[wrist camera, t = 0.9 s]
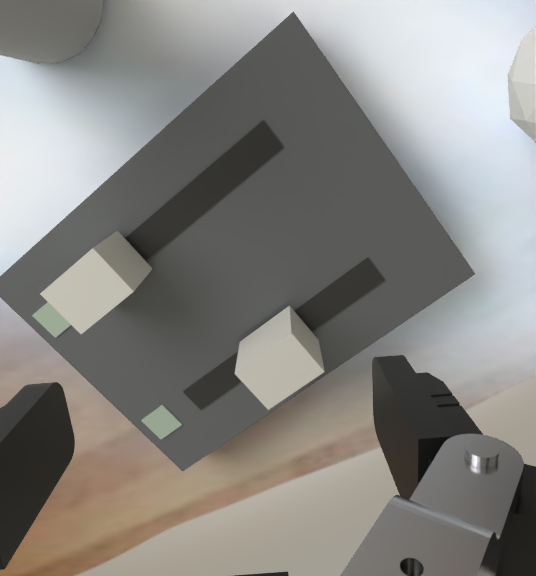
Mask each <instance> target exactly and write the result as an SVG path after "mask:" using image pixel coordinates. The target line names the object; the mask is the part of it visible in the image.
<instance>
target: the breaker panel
mask: <svg viewBox="0 0 536 576" xmlns="http://www.w3.org/2000/svg"><path fill="white" fill-rule="evenodd" d="M116 231H118V232H119V233H120V234H121V235H122V236H123V237H124V238H125V239H126V240H127V241H128V242H129V243H130V245H131V246H132V247H133V248H134V249H135V250H136V251H137V252H138V253H139V254H140V255H141V257H142V258H143V259H144V260H145V261H146V262H147V263H148V264H149V265H150V266H151V267H152V270H151V271H150V273H149V274H148V275H147V276H146V277H145V279H144V280H143V281H142V282H141V284H140V285H139V286H138V287H137V288H136V290H135V291H134V292H133V293H131V294H130V295H129V296H128V297H127V298H125V299H124V300H123V301H122V302H120V303H119V304H118V305H117V306H116V307H114V308H113V309H112V310H111V311H109V312H108V313H107V314H106V315H104V316H103V317H102V318H101V319H100V320H98V321H97V322H96V323H95V324H93V325H92V326H91V327H90V328H88V329H87V330H86V331H85V332H84V333H82V334H80V333H79V332H78V331H77V330H76V329H75V328H74V327H73V326H72V325H71V324H70V323H69V322H68V321H67V320H66V319H65V318H64V317H63V316H62V315H61V314H60V313H59V312H58V311H57V310H56V309H55V308H54V307H53V306H52V305H51V304H50V303H49V302H47V301H46V300H45V299H44V298H43V297H42V296H41V295H40V293H41V292H43V291H44V290H45V289H46V288H47V287H48V286H49V285H51V284H52V283H53V282H54V281H55V280H56V279H58V278H59V277H60V276H61V275H62V274H63V273H64V272H66V271H67V270H68V269H69V268H70V267H71V266H73V265H74V264H75V263H76V262H77V261H78V260H80V259H81V258H82V257H83V256H84V255H85V254H86V253H88V252H89V251H90V250H91V249H92V248H94V247H95V246H96V245H98V244H99V243H101V242H102V241H103V240H105V239H106V238H108V237H109V236H110V235H112V234H113V233H115V232H116ZM473 275H475V273H474V272H473V270H472V269H471V267H470V266H469V264H468V263H467V261H466V260H465V259H464V257H463V256H462V254H461V253H460V251H459V250H458V248H457V247H456V246H455V244H454V243H453V241H452V240H451V238H450V237H449V235H448V234H447V233H446V231H445V230H444V228H443V227H442V225H441V224H440V222H439V221H438V220H437V218H436V217H435V215H434V214H433V212H432V211H431V209H430V208H429V207H428V205H427V204H426V202H425V201H424V199H423V198H422V196H421V195H420V194H419V192H418V191H417V189H416V188H415V186H414V185H413V183H412V182H411V181H410V179H409V178H408V176H407V175H406V173H405V172H404V170H403V169H402V168H401V166H400V165H399V163H398V162H397V160H396V159H395V157H394V156H393V155H392V153H391V152H390V150H389V149H388V147H387V146H386V144H385V143H384V142H383V140H382V139H381V137H380V136H379V134H378V133H377V131H376V130H375V129H374V127H373V126H372V124H371V123H370V121H369V120H368V118H367V117H366V116H365V114H364V113H363V111H362V110H361V108H360V107H359V105H358V104H357V103H356V101H355V100H354V98H353V97H352V95H351V94H350V92H349V91H348V90H347V88H346V87H345V85H344V84H343V82H342V81H341V79H340V78H339V77H338V75H337V74H336V72H335V71H334V69H333V68H332V66H331V65H330V64H329V62H328V61H327V59H326V58H325V56H324V55H323V53H322V52H321V51H320V49H319V48H318V46H317V45H316V43H315V42H314V40H313V39H312V38H311V36H310V35H309V33H308V32H307V30H306V29H305V27H304V26H303V25H302V23H301V22H300V20H299V19H298V17H297V16H296V14H295V13H294V12H293V13H291V14H290V15H289V16H288V17H287V18H286V19H285V20H284V21H283V22H281V23H280V24H279V25H278V26H277V27H276V28H275V29H274V30H273V31H271V32H270V33H269V34H268V35H267V36H266V37H265V38H264V39H263V40H262V41H260V42H259V43H258V44H257V45H256V46H255V47H254V48H253V49H252V50H250V51H249V52H248V53H247V54H246V55H245V56H244V57H243V58H242V59H240V60H239V61H238V62H237V63H236V64H235V65H234V66H233V67H232V68H231V69H229V70H228V71H227V72H226V73H225V74H224V75H223V76H222V77H221V78H219V79H218V80H217V81H216V82H215V83H214V84H213V85H212V86H211V87H209V88H208V89H207V90H206V91H205V92H204V93H203V94H202V95H201V96H200V97H198V98H197V99H196V100H195V101H194V102H193V103H192V104H191V105H190V106H188V107H187V108H186V109H185V110H184V111H183V112H182V113H181V114H180V115H178V116H177V117H176V118H175V119H174V120H173V121H172V122H171V123H170V124H169V125H167V126H166V127H165V128H164V129H163V130H162V131H161V132H160V133H159V134H157V135H156V136H155V137H154V138H153V139H152V140H151V141H150V142H149V143H147V144H146V145H145V146H144V147H143V148H142V149H141V150H140V151H139V152H138V153H136V154H135V155H134V156H133V157H132V158H131V159H130V160H129V161H128V162H126V163H125V164H124V165H123V166H122V167H121V168H120V169H119V170H118V171H116V172H115V173H114V174H113V175H112V176H111V177H110V178H109V179H108V180H107V181H105V182H104V183H103V184H102V185H101V186H100V187H99V188H98V189H97V190H95V191H94V192H93V193H92V194H91V195H90V196H89V197H88V198H87V199H85V200H84V201H83V202H82V203H81V204H80V205H79V206H78V207H77V208H76V209H74V210H73V211H72V212H71V213H70V214H69V215H68V216H67V217H66V218H64V219H63V220H62V221H61V222H60V223H59V224H58V225H57V226H56V227H54V228H53V229H52V230H51V231H50V232H49V233H48V234H47V235H46V236H44V237H43V238H42V239H41V240H40V241H39V242H38V243H37V244H36V245H35V246H33V247H32V248H31V249H30V250H29V251H28V252H27V253H26V254H25V255H23V256H22V257H21V258H20V259H19V260H18V261H17V262H16V263H15V264H13V265H12V266H11V267H10V268H9V269H8V270H7V271H6V272H5V273H4V274H2V275H1V276H0V297H1V298H2V299H3V300H4V301H5V302H6V303H7V304H8V305H9V306H10V307H11V308H12V309H13V310H14V311H15V312H16V313H17V314H18V315H19V316H20V317H22V318H23V319H24V320H25V321H26V322H27V323H28V324H29V325H30V326H31V327H32V328H33V329H34V330H35V331H36V332H37V333H38V334H39V335H40V336H41V337H42V338H44V339H45V340H46V341H47V342H48V343H49V344H50V345H51V346H52V347H53V348H54V349H55V350H56V351H57V352H58V353H59V354H60V355H61V356H62V357H63V358H64V359H66V360H67V361H68V362H69V363H70V364H71V365H72V366H73V367H74V368H75V369H76V370H77V371H78V372H79V373H80V374H81V375H82V376H83V377H84V378H85V379H86V380H88V381H89V382H90V383H91V384H92V385H93V386H94V387H95V388H96V389H97V390H98V391H99V392H100V393H101V394H102V395H103V396H104V397H105V398H106V399H107V400H109V401H110V402H111V403H112V404H113V405H114V406H115V407H116V408H117V409H118V410H119V411H120V412H121V413H122V414H123V415H124V416H125V417H126V418H127V419H128V420H129V421H131V422H132V423H133V424H134V425H135V426H136V427H137V428H138V429H139V430H140V431H141V432H142V433H143V434H144V435H145V436H146V437H147V438H148V439H149V440H150V441H151V442H153V443H154V444H155V445H156V446H157V447H158V448H159V449H160V450H161V451H162V452H163V453H164V454H165V455H166V456H167V457H168V458H169V459H170V460H171V461H172V462H173V463H175V464H176V465H177V466H178V467H179V468H180V469H181V470H182V471H184V470H185V469H187V468H188V467H190V466H191V465H193V464H194V463H196V462H197V461H199V460H200V459H202V458H203V457H205V456H206V455H208V454H209V453H211V452H212V451H214V450H215V449H217V448H218V447H219V446H221V445H222V444H224V443H225V442H227V441H228V440H230V439H231V438H233V437H234V436H236V435H237V434H239V433H240V432H242V431H243V430H245V429H246V428H248V427H249V426H251V425H252V424H254V423H255V422H257V421H258V420H260V419H261V418H262V417H264V416H265V415H267V414H268V413H270V412H271V411H273V410H274V409H276V408H277V407H279V406H280V405H282V404H283V403H285V402H286V401H288V400H289V399H291V398H292V397H294V396H295V395H297V394H298V393H300V392H301V391H303V390H304V389H305V388H307V387H308V386H310V385H311V384H313V383H314V382H316V381H317V380H319V379H320V378H322V377H323V376H325V375H326V374H328V373H329V372H331V371H332V370H334V369H335V368H337V367H338V366H340V365H341V364H343V363H344V362H346V361H347V360H349V359H350V358H351V357H353V356H354V355H356V354H357V353H359V352H360V351H362V350H363V349H365V348H366V347H368V346H369V345H371V344H372V343H374V342H375V341H377V340H378V339H380V338H381V337H383V336H384V335H386V334H387V333H389V332H390V331H392V330H393V329H394V328H396V327H397V326H399V325H400V324H402V323H403V322H405V321H406V320H408V319H409V318H411V317H412V316H414V315H415V314H417V313H418V312H420V311H421V310H423V309H424V308H426V307H427V306H429V305H430V304H432V303H433V302H435V301H436V300H437V299H439V298H440V297H442V296H443V295H445V294H446V293H448V292H449V291H451V290H452V289H454V288H455V287H457V286H458V285H460V284H461V283H463V282H464V281H466V280H467V279H469V278H470V277H472V276H473ZM288 306H290V307H291V308H292V309H293V310H294V311H295V313H296V314H297V315H298V316H299V317H300V319H301V320H302V321H303V322H304V323H305V324H306V326H307V327H308V328H309V329H310V330H311V332H312V333H313V334H314V335H315V336H316V338H317V339H318V340H319V345H320V350H321V355H322V361H323V366H324V371H325V372H324V373H322V374H321V375H319V376H318V377H316V378H315V379H313V380H312V381H310V382H309V383H307V384H306V385H304V386H303V387H301V388H300V389H299V390H297V391H296V392H294V393H293V394H291V395H290V396H288V397H287V398H285V399H284V400H282V401H281V402H279V403H278V404H276V405H275V406H273V407H272V408H270V409H269V410H268V409H267V408H266V407H265V406H264V405H263V404H262V403H261V402H260V401H259V399H258V398H257V397H256V396H255V395H254V394H253V393H252V392H251V391H250V390H249V389H248V388H247V387H246V385H245V384H244V383H243V382H242V381H241V380H240V379H239V378H238V377H237V376H236V375H235V368H236V362H237V356H238V350H239V344H240V341H242V340H243V339H244V338H246V337H247V336H248V335H250V334H251V333H253V332H254V331H255V330H257V329H258V328H259V327H261V326H262V325H263V324H265V323H266V322H268V321H269V320H270V319H272V318H273V317H274V316H276V315H277V314H279V313H280V312H281V311H283V310H284V309H285V308H287V307H288Z"/></svg>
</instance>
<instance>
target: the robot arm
mask: <svg viewBox="0 0 536 576" xmlns="http://www.w3.org/2000/svg"><path fill="white" fill-rule="evenodd" d="M372 377H373V415H374V424H375V430H376V434H377V437H378V440H379V443H380V445H381V448H382V450H383V453H384V455H385V458H386V461H387V463H388V466H389V468H390V471H391V474H392V476H393V479H394V481H395V484H396V486H397V489H398V492H399V494H400V496H399V495H395V496H394V497H392V498H391V499H390V501H389V502H388V504H387V505H386V507H385V508H384V510H383V511H382V513H381V514H380V516H379V517H378V519H377V520H376V522H375V523H374V525H373V527H372V528H371V529H370V531H369V533H368V534H367V536H366V537H365V539H364V540H363V542H362V543H361V545H360V546H359V548H358V549H357V551H356V552H355V554H354V555H353V557H352V558H351V560H350V562H349V563H348V565H347V566H346V568H345V569H344V571H343V572H342V574H341V576H536V467H535V466H530V465H527V464H524V462H523V459H522V457H521V455H520V454H519V452H518V451H517V450H516V449H515V448H513V447H512V446H510V445H509V444H507V443H506V442H504V441H501V440H499V439H497V438H493V437H490V436H486V435H483V434H482V432H481V431H480V430H479V429H478V427H477V426H476V425H475V423H474V422H473V421H472V419H471V418H470V417H469V415H468V414H467V413H466V411H465V410H464V409H463V407H462V406H460V405H459V402H458V401H457V399H456V398H455V397H454V396H452V393H451V392H450V390H449V389H448V388H447V386H446V385H445V384H444V382H443V381H441V380H439V379H437V378H436V377H434V376H432V375H431V374H429V373H415V371H414V370H413V368H412V367H411V365H410V364H409V362H408V361H407V359H406V358H405V356H403V355H399V356H387V357H374V358H373V363H372ZM74 445H75V440H74V433H73V429H72V425H71V420H70V416H69V412H68V407H67V403H66V399H65V394H64V391H63V388H62V386H61V385H60V384H59V383H57V382H55V383H42V384H30V385H26V386H24V387H23V388H22V389H21V390H20V391H19V392H18V393H17V394H16V395H15V396H14V397H13V398H12V399H11V400H10V401H9V402H8V403H7V404H6V405H5V406H3V407H2V408H0V570H1V569H5V568H6V566H7V565H8V563H9V561H10V560H11V558H12V556H13V555H14V553H15V551H16V550H17V548H18V547H19V545H20V543H21V542H22V540H23V538H24V537H25V535H26V533H27V532H28V530H29V528H30V527H31V525H32V524H33V522H34V520H35V519H36V517H37V515H38V514H39V512H40V510H41V509H42V507H43V506H44V504H45V502H46V501H47V499H48V497H49V496H50V494H51V492H52V491H53V489H54V488H55V486H56V484H57V483H58V481H59V479H60V478H61V476H62V474H63V473H64V471H65V469H66V468H67V466H68V465H69V463H70V461H71V459H72V456H73V453H74ZM236 576H288V572H278V573H263V574H250V575H236Z"/></svg>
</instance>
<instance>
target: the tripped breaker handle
mask: <svg viewBox="0 0 536 576" xmlns="http://www.w3.org/2000/svg"><path fill="white" fill-rule="evenodd" d="M324 372H325V371H324V366H323V361H322V355H321V350H320V345H319V340H318V339H317V338H316V336H315V335H314V334H313V333H312V332H311V330H310V329H309V328H308V327H307V326H306V324H305V323H304V322H303V321H302V320H301V319H300V317H299V316H298V315H297V314H296V313H295V311H294V310H293V309H292V308H291V307H290V306H288V307H287V308H285V309H284V310H283V311H281V312H280V313H279V314H277V315H276V316H274V317H273V318H272V319H270V320H269V321H268V322H266V323H265V324H263V325H262V326H261V327H259V328H258V329H257V330H255V331H254V332H253V333H251V334H250V335H248V336H247V337H246V338H244V339H243V340H242V341H240V344H239V350H238V356H237V362H236V368H235V375H236V376H237V377H238V378H239V379H240V380H241V381H242V382H243V383H244V384H245V385H246V387H247V388H248V389H249V390H250V391H251V392H252V393H253V394H254V395H255V396H256V397H257V398H258V399H259V401H260V402H261V403H262V404H263V405H264V406H265V407H266V408H267V409H268V410H269V409H270V408H272V407H273V406H275V405H276V404H278V403H279V402H281V401H282V400H284V399H285V398H287V397H288V396H290V395H291V394H293V393H294V392H296V391H297V390H299V389H300V388H301V387H303V386H304V385H306V384H307V383H309V382H310V381H312V380H313V379H315V378H316V377H318V376H319V375H321V374H322V373H324Z"/></svg>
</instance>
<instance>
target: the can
mask: <svg viewBox="0 0 536 576" xmlns="http://www.w3.org/2000/svg"><path fill="white" fill-rule="evenodd" d="M103 4H104V0H0V55H3V56H7V57H12V58H16V59H20V60H25V61H29V62H34V63H38V64H42V63H60V62H62V61H64V60H66V59H69V58H71V57H73V56H76V55H77V54H78V53H79V52H81V51H82V50H83V49H84V48H85V47H86V46H87V45H88V44H89V43H90V42H91V41H92V39H93V37H94V35H95V32H96V30H97V28H98V26H99V24H100V22H101V17H102V10H103Z"/></svg>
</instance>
